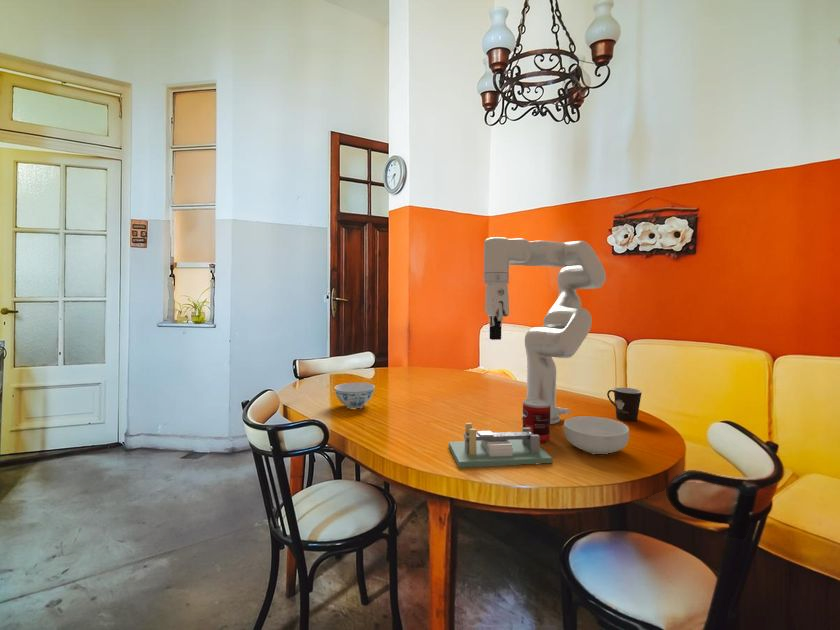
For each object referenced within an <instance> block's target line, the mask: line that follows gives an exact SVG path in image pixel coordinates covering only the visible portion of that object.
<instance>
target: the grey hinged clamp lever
mask: <svg viewBox="0 0 840 630" xmlns="http://www.w3.org/2000/svg"><path fill="white" fill-rule="evenodd" d="M530 435H534V434H533V433H532V432H531V431H530V430H526V432H522V431H505V432H504V431H502V432H501V431H500V432H499V431H498V432H492V431H491V430H478V431H477V430H476V441H481V440H519V439H530ZM463 438H464V441H465V440H466V441H469V433H463Z"/></svg>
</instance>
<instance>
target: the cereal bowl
mask: <svg viewBox="0 0 840 630" xmlns="http://www.w3.org/2000/svg"><path fill="white" fill-rule="evenodd" d="M563 431H564V436H565V437H566V439H567V441H568V442H569V443H570V444H571V445H573V446H574V447H576V448H578V449H579V450H581V449H582V451H583V450H584V451H586V452H585V453H587V452H589V453H588V454H590V453H594V454H593V455H595V454H607V455H609V454H608V453H610V454H612V453H615V452H618V451H621V450H623V448H625V447H626V446H627V444H628V443H629V438H630V428H629V426H628V425H627V424H625V423H623V422H621V421H618V420H615V419H612V418H607V417H600V416H589V415H588V416H586V415H585V416H584V415H583V416H579V415H578V416H573V417H569V418H567V419H565V420H564V422H563ZM584 451H583V452H584Z"/></svg>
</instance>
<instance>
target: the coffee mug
mask: <svg viewBox="0 0 840 630" xmlns="http://www.w3.org/2000/svg"><path fill="white" fill-rule="evenodd" d="M611 392H612V393H613V394H614V401H613V400H612V399H611V397H610V393H611ZM606 396H607V398H608V400H609V401H610V403H611V404H612V405H613V406H614V407H615V417H616V420H619V421H623V422H627V421H628V422H629V423H633V422H637V421H638V418H639V417H638V416H639V410H640V406H641V400H642V399H641V398H642V390H640V389H638V388H632V387H614V388H613V389H609V390H608V391H607V393H606Z"/></svg>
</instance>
